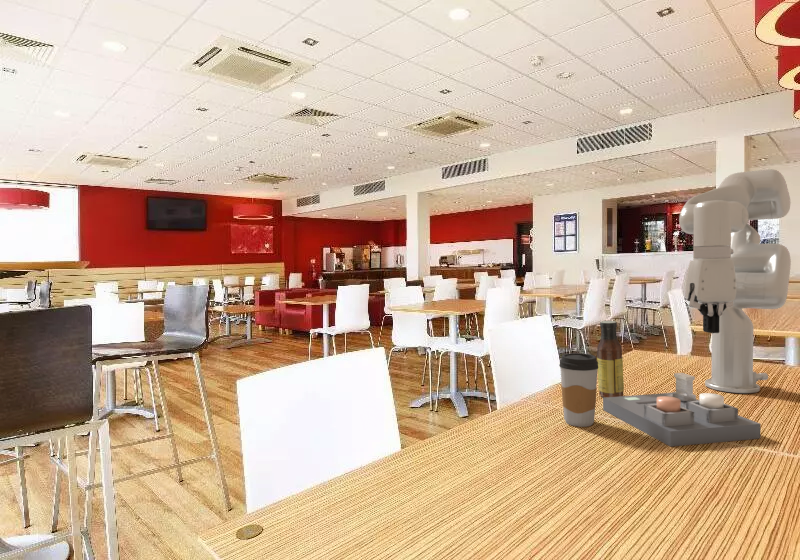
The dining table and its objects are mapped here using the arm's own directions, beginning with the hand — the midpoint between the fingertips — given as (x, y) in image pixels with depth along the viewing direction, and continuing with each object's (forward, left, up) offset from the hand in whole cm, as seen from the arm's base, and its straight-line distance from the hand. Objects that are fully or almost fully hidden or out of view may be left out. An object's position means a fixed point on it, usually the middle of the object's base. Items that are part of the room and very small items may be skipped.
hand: (711, 332), depth 120 cm
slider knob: (+7, 0, -15) cm, 17 cm away
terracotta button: (+20, +12, -14) cm, 27 cm away
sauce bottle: (+16, -16, -19) cm, 29 cm away
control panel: (+14, +6, -19) cm, 24 cm away
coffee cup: (+34, +1, -19) cm, 39 cm away
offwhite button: (+10, +12, -14) cm, 21 cm away
